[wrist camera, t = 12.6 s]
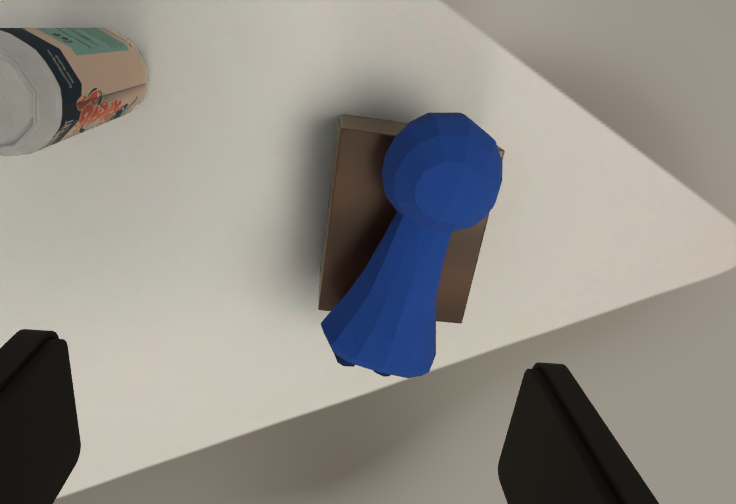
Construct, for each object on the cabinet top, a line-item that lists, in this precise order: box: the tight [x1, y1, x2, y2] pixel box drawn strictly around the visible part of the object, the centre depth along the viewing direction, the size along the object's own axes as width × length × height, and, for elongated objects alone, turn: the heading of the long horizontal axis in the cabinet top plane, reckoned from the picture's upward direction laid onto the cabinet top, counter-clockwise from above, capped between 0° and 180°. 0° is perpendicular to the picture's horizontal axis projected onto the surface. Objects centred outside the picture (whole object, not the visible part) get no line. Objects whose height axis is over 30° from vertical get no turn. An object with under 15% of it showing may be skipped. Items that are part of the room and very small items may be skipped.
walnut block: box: [318, 114, 504, 323], centre depth 32 cm, size 11×9×5 cm
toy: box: [321, 113, 502, 378], centre depth 27 cm, size 7×6×15 cm
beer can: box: [0, 28, 148, 156], centre depth 24 cm, size 5×5×12 cm
